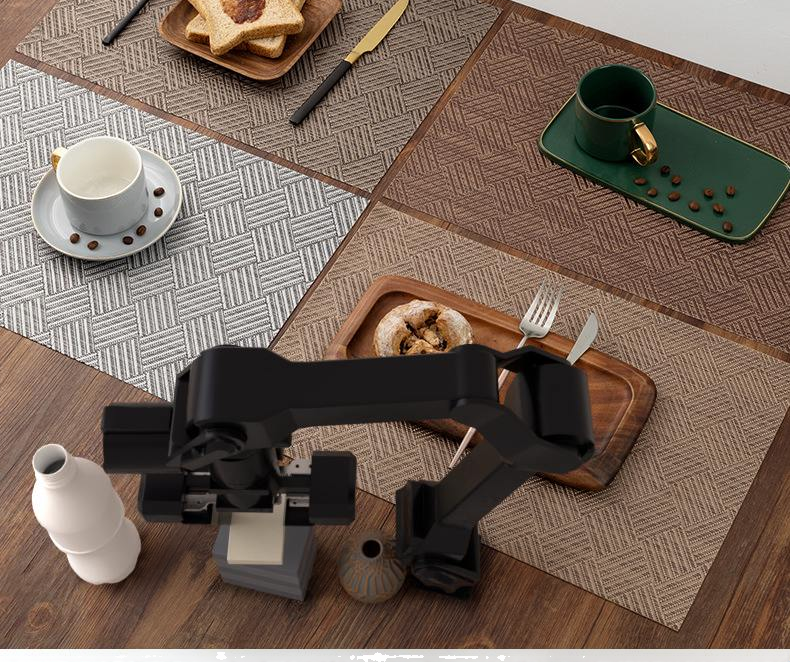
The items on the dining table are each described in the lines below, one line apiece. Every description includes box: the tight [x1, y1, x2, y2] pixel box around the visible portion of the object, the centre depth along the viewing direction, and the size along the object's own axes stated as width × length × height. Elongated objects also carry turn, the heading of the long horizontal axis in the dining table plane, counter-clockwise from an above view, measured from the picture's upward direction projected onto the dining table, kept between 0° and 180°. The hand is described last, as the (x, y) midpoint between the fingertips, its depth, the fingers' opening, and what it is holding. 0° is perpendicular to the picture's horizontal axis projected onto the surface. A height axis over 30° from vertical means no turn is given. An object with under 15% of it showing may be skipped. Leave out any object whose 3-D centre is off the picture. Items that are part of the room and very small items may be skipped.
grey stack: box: [211, 525, 319, 602], centre depth 113 cm, size 8×6×9 cm, turn 77°
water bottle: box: [31, 443, 142, 586], centre depth 107 cm, size 7×7×25 cm
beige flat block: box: [227, 494, 286, 565], centre depth 106 cm, size 8×5×1 cm, turn 179°
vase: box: [337, 528, 408, 604], centre depth 113 cm, size 7×7×9 cm
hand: (258, 520), depth 106 cm, fingers closed on beige flat block, 5 cm apart
